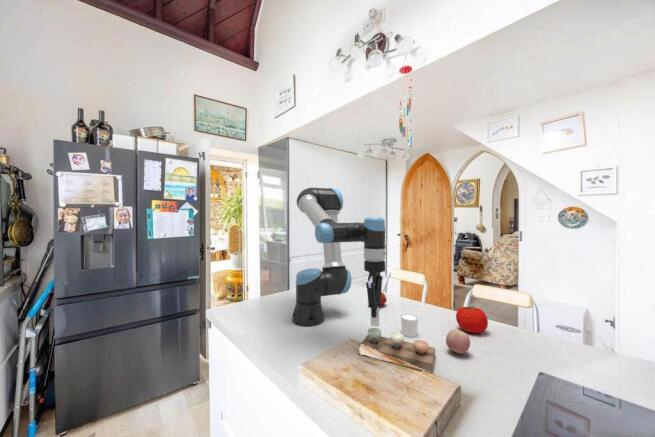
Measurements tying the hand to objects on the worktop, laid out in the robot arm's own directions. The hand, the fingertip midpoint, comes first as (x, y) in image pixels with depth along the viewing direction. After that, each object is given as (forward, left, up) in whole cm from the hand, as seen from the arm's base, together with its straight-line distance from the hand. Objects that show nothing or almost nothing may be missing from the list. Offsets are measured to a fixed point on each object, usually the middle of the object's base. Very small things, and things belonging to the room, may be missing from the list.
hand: (375, 325), depth 94 cm
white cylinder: (+9, +20, -10) cm, 24 cm away
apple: (+27, +12, -10) cm, 31 cm away
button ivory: (+8, 0, -8) cm, 11 cm away
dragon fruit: (-12, +48, -10) cm, 50 cm away
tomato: (+32, +35, -10) cm, 48 cm away
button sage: (0, 0, -8) cm, 8 cm away
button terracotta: (+16, 0, -9) cm, 18 cm away
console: (+8, 0, -9) cm, 12 cm away
